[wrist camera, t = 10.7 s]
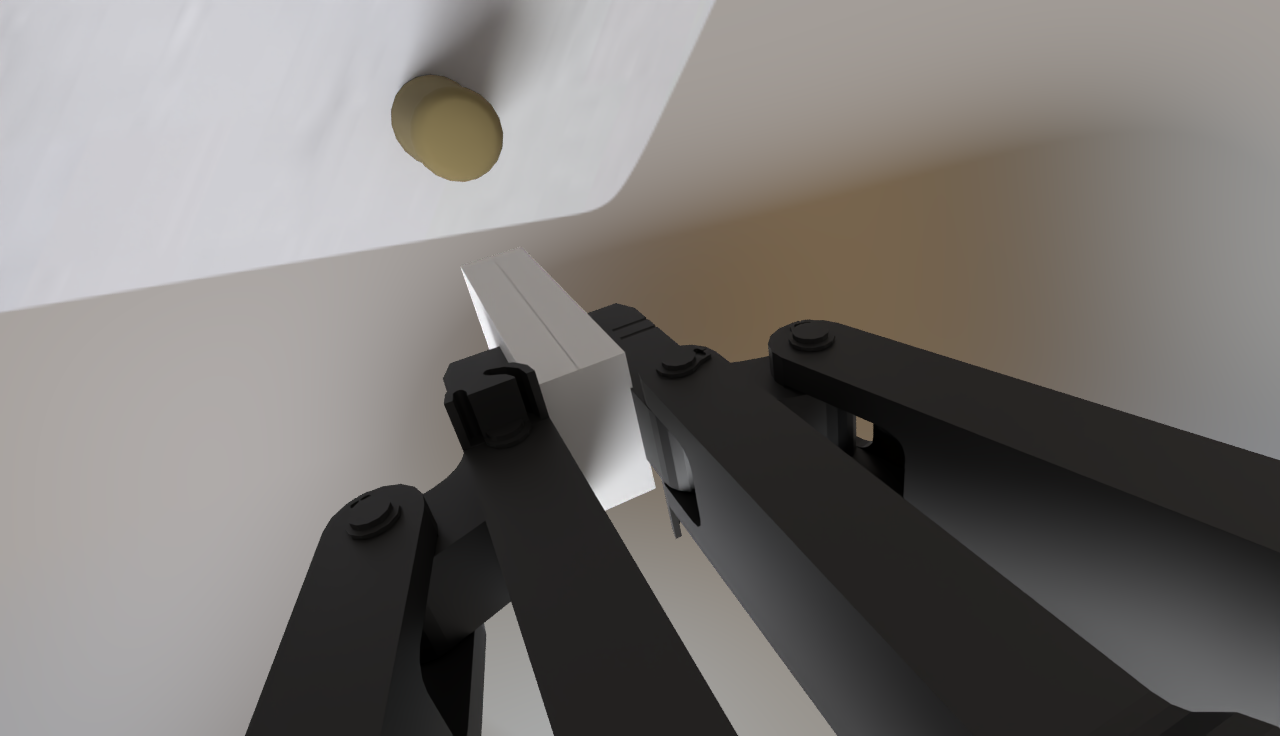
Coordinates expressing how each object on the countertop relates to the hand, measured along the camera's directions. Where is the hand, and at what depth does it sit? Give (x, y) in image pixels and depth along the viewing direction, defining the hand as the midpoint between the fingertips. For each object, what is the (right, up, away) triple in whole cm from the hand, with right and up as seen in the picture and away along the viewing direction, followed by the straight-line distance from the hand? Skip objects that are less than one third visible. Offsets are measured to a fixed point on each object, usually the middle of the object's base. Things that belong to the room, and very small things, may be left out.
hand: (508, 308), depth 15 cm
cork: (-11, +16, +29) cm, 35 cm away
